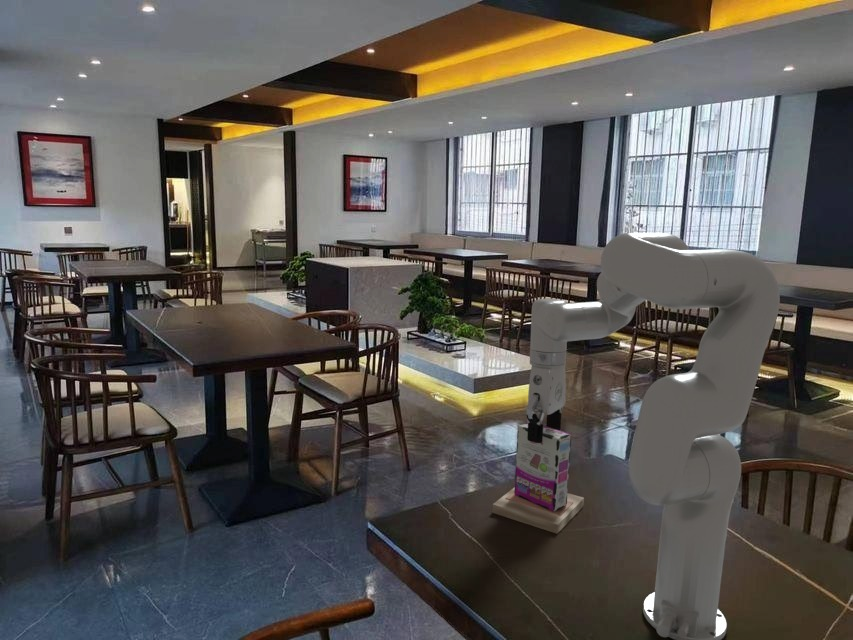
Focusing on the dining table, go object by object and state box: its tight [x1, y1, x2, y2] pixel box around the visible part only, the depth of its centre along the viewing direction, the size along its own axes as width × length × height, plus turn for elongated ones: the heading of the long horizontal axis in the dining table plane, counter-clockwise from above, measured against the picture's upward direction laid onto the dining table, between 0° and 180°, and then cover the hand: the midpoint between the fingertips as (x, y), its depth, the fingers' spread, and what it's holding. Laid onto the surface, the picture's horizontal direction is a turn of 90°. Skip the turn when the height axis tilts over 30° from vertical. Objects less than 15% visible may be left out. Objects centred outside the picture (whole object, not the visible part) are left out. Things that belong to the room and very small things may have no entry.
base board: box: [492, 486, 585, 535], centre depth 139 cm, size 15×15×2 cm
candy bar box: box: [514, 422, 572, 512], centre depth 137 cm, size 11×5×16 cm, turn 43°
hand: (544, 435), depth 135 cm, fingers open, 9 cm apart
